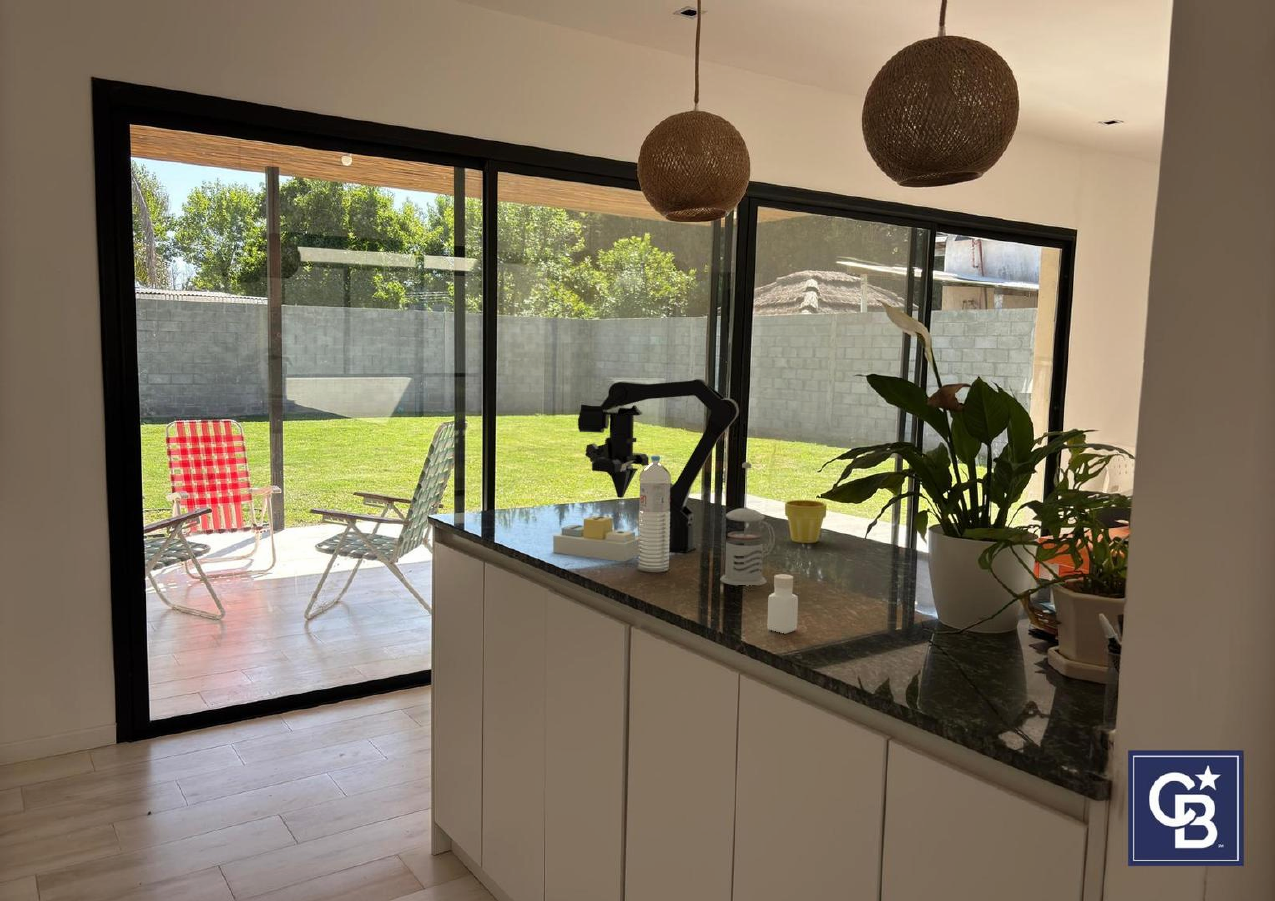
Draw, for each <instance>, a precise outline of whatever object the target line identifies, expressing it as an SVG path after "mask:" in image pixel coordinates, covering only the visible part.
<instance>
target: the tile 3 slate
mask: <svg viewBox="0 0 1275 901" xmlns="http://www.w3.org/2000/svg"><path fill="white" fill-rule="evenodd" d="M583 529H584V525H581V524H577V525H576V524H571V525H568V526H564V527H561V533H562V534H561V535H567V536H575V537H582V536H583Z"/></svg>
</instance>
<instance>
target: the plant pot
mask: <svg viewBox="0 0 1275 901" xmlns="http://www.w3.org/2000/svg"><path fill="white" fill-rule="evenodd" d="M784 515H785V517H787V520H788V521H787V522H788V527H789V532H790V538H791V541H792V542H795V543H798V544H799V543H801V544H812V543H813V544H814V543H817V542H818V540H819V537H820V533H821V528H822V525H823V521H824V519H825V518H826V517H827V504H826V502H822V501H820V500H811V499H796V500H795V499H794V500H793V499H792V500H788V501H785V503H784Z"/></svg>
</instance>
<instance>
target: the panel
mask: <svg viewBox="0 0 1275 901" xmlns="http://www.w3.org/2000/svg"><path fill="white" fill-rule="evenodd" d="M561 534H562V532H561V533H557V534H555V535H552V538H553V539H552V540H553V543H552V546H553V548H552V551H553V553H555V552H556V554H564V555H572V556H578V557H586V558H593V559H600V560H601V559H602V560H608V561H609V560H610V561H615V560H616V562H617V561H618V562H623V563H625V562H627V561H630V560H632V559H635V558H638V540H639V539H638V536H635V539H634V540H632V541H629V542H626V543H624V542H616V541H608V540H606V539H604V540H599V539H591V538H583V536H582V537H575V536H567V535H561Z"/></svg>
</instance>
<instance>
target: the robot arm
mask: <svg viewBox="0 0 1275 901" xmlns="http://www.w3.org/2000/svg"><path fill="white" fill-rule="evenodd" d="M607 395H608V396H607V397H606V398H605V399H604V401H603V402H602V403H601V405H597V404H596V405H595V404H594V405H593V404H592V405H591V404H590V403H589V404H587V403H585V404H584V403H583V404H581V405H580V411H579V415H578V418H577V428H578V431H579V432H580V433H594V434H595V433H598V434H603V433H604V432H605V430H608V428H609V437H606V438H605V440H604V444H601V445H597V444H596V443H594V442H593V443H589V444H586V448H585V457H586V458H588V459H589V460H590V463H591V471H592V472H600V473H601V472H603V473H607V474H608V475H609V476H610V478H611V480H612V483H613V486H614V489H615V492H616V495H617V498H620V499H623V498H624V496H625V494H626V492H627V490H628V487H629V486H630V484H631V482H632V480H633V478H634V476H635V475H636V472H638V470H639V469H638V468H635V467H634V465H641V466H642V467H646V466H647V465H649V464H650V463H649V460H650V458H649V456H648V455H647V454H646V453H641V452H640V453H638V452H634V443H637V437H634V419H635V418H634V417H635V416H637V417H639V416H641V415H642V414H643V412H642V411H641V410H640V409H639V408H638V407H637V405H635V404H634V403H638V402H642V401H645V400H652V399H665V398H677V397H679V398H680V397H681V398H682V397H692V396H693V397H696V398H697V399H698V400H699V401H700V402H701V403H702V404H703V405H704V406H705V407H706V408H707V409H708V410H710V411H711V412H710V414H709V416H708V419H707V423H706V427H705V429H704V432H703V434H702V435H701V438H700V440H699V441H698V443H697V444H696V446H695V448H694V450H693V452H692V453H691V456H690V457H689V458H688V461H687V462H686V464H685V465H684V467H683V469H682V471H681V473H680V474H679V476H678V478H677V480H676V481H675V482H674V483H672V482H670V527H669V528H670V531H669V532H670V535H669V536H670V539H669V541H670V543H669V552H676V553H688V552H690V551H692V550H694V549H696V548H697V546H696V545H694V526H695V525H694V523H693V524H692V523H691V522H692V520H693V517H694V512H693V511H692V510H691V509H690V508H689V507H688V506H687V505H686V504H687V502H688V499H689V497H690V493H691V489H692V486H693V484H694V482H696V479H697V477H698V476H699V474H700V472H701V470H702V468H703V467H704V466H705V464H706V462H707V461H708V458H709V457H710V455H711V454H712V451H713V450H714V448H715V446H716V444H717V442H718V441H719V439H720V437H721V436H722V435H723V434H724V433H725V431H727V429H728V428H729V427H730V426H731V425H732V423H733V422H734V421H735V420H736V419H737V417H738V416H739V413H740V409H739V405H738V403H737V402H736V401H735V400H734V399H732V398H730V397H729V398H728V397H727V398H726V397H724V395H722V394H721V393H720V392H718V391H717V390H716V389H714V388H713V387H712V386H711V385H709V384H708V383H707V381H706V380H705V379H702V378H696V379H692V380H680V381H668V382H657V383H645V382H644V383H643V382H637V381H636V382H634V381H626V380H625V381H617V382H614V383H612V384H611V385H610V387H609V389H608V394H607ZM630 404H631V405H632V404H634V405H632V406H631V407H625V408H624V407H623V406H627V405H630ZM618 407H620V408H618ZM616 408H618V409H617V410H618V411H610V410H614V409H616ZM608 410H609V411H608Z"/></svg>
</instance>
